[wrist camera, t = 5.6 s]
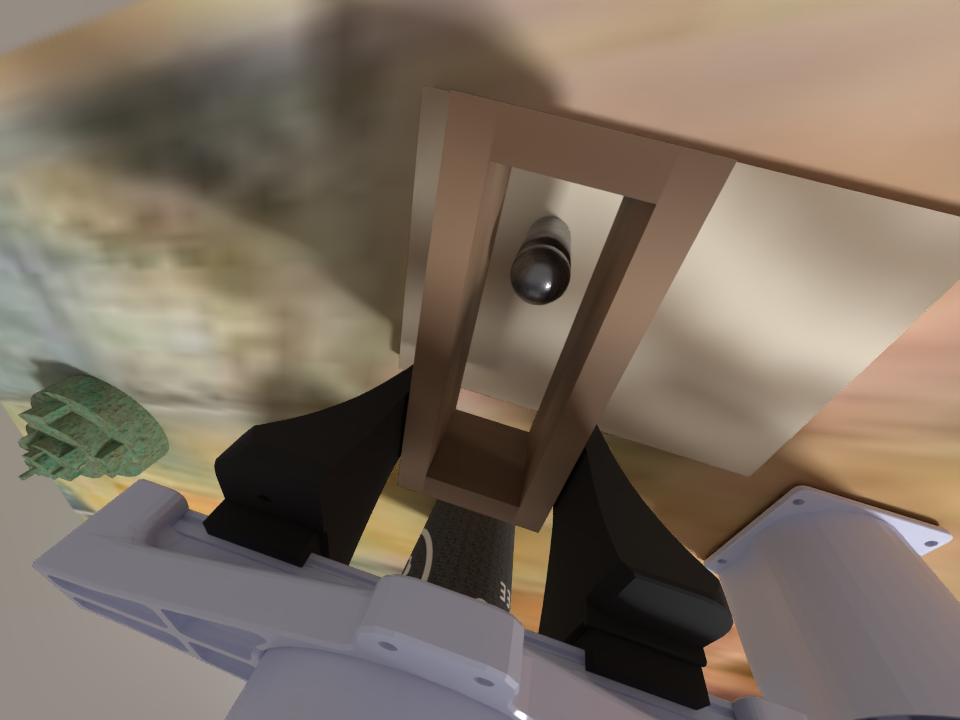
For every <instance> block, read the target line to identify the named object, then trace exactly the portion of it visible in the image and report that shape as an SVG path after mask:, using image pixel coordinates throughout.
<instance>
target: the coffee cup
mask: <svg viewBox="0 0 960 720" xmlns="http://www.w3.org/2000/svg"><path fill="white" fill-rule="evenodd" d="M514 534H515V525H513V524H510V523H507V522H504V521H501V520H499V519H496V518H493V517H490V516H487V515H484V514H481V513H478V512H475V511H472V510H469V509H466V508H463V507H460V506H457V505H454V504H451V503H448V502H445V501H442V500H439V499H438V500H437V502H436V504H435V506H434V508H433V510H432V512H431V514H430V516H429V518H428V520H427V522H426V524H425V526H424V529H423V531H422V533H421V535H420V537H419V539H418V541H417V543H416V545H415V547H414V549H413V551H412V554H411V556H410V558H409V560H408V562H407V564H406V566H405V568H404V570H403V572H402V574H401V575H405V576H410V577H414V578H418V579H420V580H423V581H426V582H429V583H432V584H434V585H437V586H440V587H443V588H446V589H449V590H451V591H454V592H457V593H460V594H463V595H466V596H468V597H471V598H474V599H477V600H480V601H482V602H485V603H488V604H491V605H494V606H497V607H499V608H501V609H503V610H505V611H507V612H509V613H510V604H511V587H512V569H513V551H514Z"/></svg>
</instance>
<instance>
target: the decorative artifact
mask: <svg viewBox="0 0 960 720" xmlns="http://www.w3.org/2000/svg"><path fill="white" fill-rule="evenodd" d="M31 406H32V408H31V409H29V410H27V411H25V412H23V413H21V414H19V416H20V417H21V418H22V419H24V420H25V421H26V422H27V423H28V424H27V425H26V431H27V433H28V435H27V436H25V437H23V438H21V439H20V440H19V441H18V443H19V446H20V447H21V448H23V449H25V450H28V451H29V452H28V453H26V454H24V455H22V456H23V457H24V458H25V463H26V464H27V465H28V466H29V467H30V468H29V469H30V470H28V471H27V472H25V473H23V474H22V475H20V476H19V478H20V479H22V480H26V479H27V478H29V477H30V476H32V475H34V474H35V473H36V474H38V475H39V476H40V475H43V476H45V477H51V478H52V479H54V480H55V479H57V478H58V477H59V478H62V479H64V480H67V481H72V480H73V479H75V478H76V477H78V476H79V475H83V476H86V477H90V478H99V477H101V476H103V475H104V474H106V475H107V476H109V477H111V478H114V477H115V476H116V475H121V476H127V477H133V476H137V475H139V474H140V473H142V472H143V471H144V470H146V469H147V468H148V467H150V466H151V465H152V464H154V463H155V462H156V461H157V460H159V459H160V458H161V457H163V456H164V455H165V454H166V453H167V452H168V450H169V443H168V439H167V437H166V435H165V433H164V431H163V429H162V428H161V426H160V425H159V424H158V422H157V421H156V420H155V419H154V418H153V417H152V415H151V414H150V413H149V412H148V411H147V410H146V409H144V408H143V407H142V406H141V405H140V404H139V403H138V402H136V401H135V400H134V399H132V398H131V397H130V396H128V395H127V394H125V393H124V392H122V391H121V390H119V389H117V388H116V387H114V386H112V385H110V384H108V383H106V382H104V381H102V380H99V379H96V378H93V377H90V376H85V375H75V376H72V377H69V378H67V379H65V380H63V381H61V382H59V383H56V384H54V385H52V386H50V387H48V388H46V389H44V390H41V391H39V392H37V393H35V394H34V395H33V396H32V397H31Z"/></svg>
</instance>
